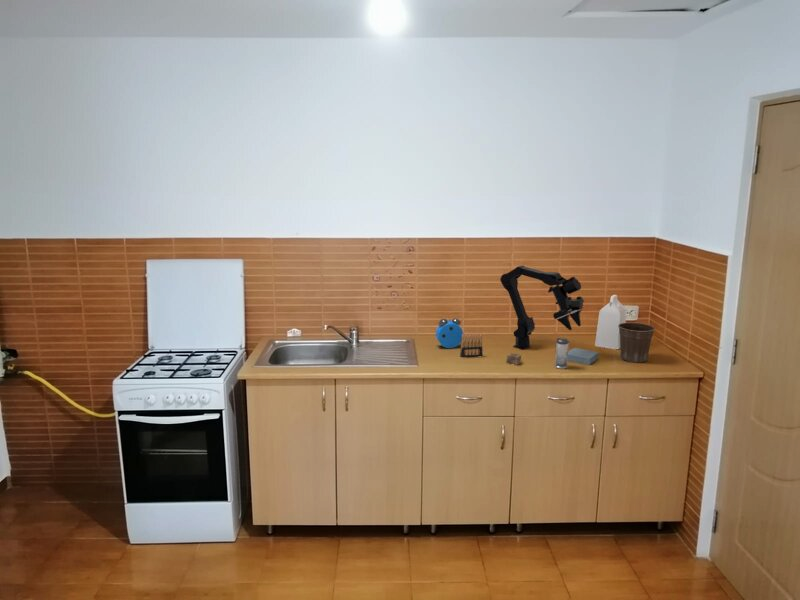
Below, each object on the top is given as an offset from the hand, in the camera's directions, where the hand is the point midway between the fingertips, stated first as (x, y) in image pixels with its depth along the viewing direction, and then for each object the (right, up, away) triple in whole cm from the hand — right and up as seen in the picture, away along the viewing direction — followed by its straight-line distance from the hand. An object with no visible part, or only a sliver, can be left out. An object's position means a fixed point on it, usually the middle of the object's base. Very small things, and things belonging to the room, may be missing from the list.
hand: (575, 328), depth 285 cm
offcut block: (-30, -16, -2) cm, 34 cm away
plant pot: (+29, -15, +4) cm, 33 cm away
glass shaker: (-9, -18, -7) cm, 21 cm away
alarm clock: (-58, -11, +22) cm, 63 cm away
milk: (+25, -10, +26) cm, 38 cm away
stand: (+4, -15, +4) cm, 16 cm away
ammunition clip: (-48, -14, +7) cm, 51 cm away
